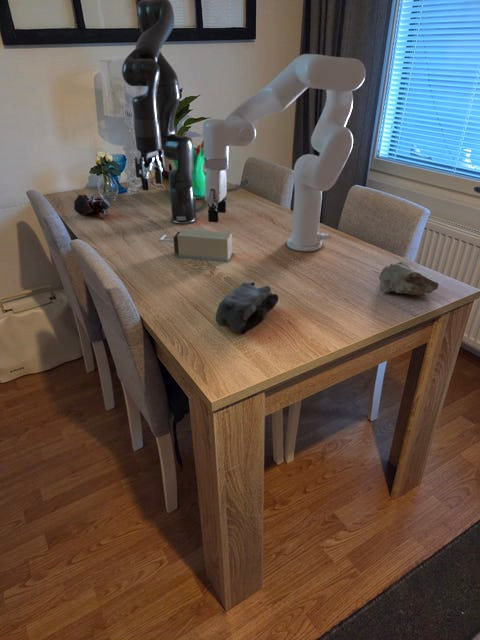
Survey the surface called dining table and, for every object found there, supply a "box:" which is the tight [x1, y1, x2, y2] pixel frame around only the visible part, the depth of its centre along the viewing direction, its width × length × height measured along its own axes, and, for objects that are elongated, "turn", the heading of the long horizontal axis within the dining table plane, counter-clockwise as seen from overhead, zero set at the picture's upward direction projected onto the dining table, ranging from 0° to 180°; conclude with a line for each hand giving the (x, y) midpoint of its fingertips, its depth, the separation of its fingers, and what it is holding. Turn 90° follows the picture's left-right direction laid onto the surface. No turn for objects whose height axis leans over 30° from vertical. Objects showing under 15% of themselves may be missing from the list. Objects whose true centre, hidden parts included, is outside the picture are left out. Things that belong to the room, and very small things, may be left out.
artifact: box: [378, 261, 439, 296], centre depth 132 cm, size 18×7×15 cm
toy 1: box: [73, 194, 111, 220], centre depth 187 cm, size 12×9×15 cm
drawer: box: [157, 231, 181, 254], centre depth 154 cm, size 22×5×6 cm, turn 77°
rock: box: [215, 281, 279, 335], centre depth 115 cm, size 18×11×8 cm, turn 152°
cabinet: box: [177, 228, 233, 262], centre depth 153 cm, size 18×6×8 cm, turn 77°
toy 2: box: [168, 137, 206, 200], centre depth 210 cm, size 20×20×25 cm
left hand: (152, 186), depth 145 cm, fingers open, 8 cm apart
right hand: (217, 217), depth 146 cm, fingers open, 9 cm apart
